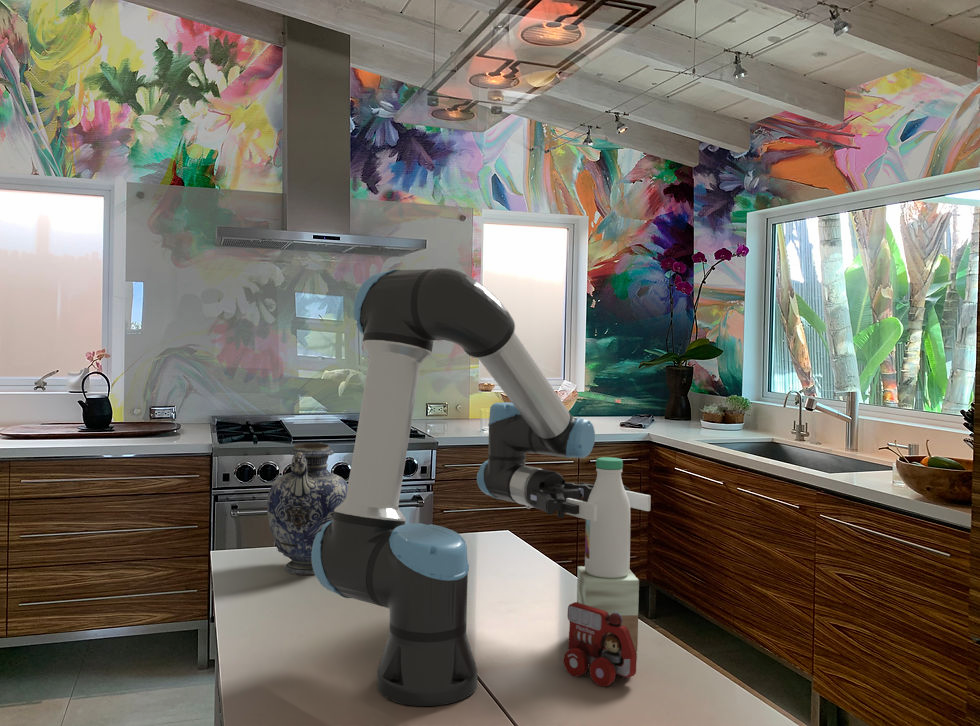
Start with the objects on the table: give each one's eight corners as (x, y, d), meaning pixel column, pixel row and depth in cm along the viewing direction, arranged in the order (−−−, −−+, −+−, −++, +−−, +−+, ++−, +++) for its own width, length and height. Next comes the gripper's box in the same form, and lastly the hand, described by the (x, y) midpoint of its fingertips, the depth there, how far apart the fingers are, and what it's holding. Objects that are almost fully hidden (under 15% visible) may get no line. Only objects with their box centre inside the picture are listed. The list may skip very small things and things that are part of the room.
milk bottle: (638, 573, 142) (640, 459, 142) (612, 582, 137) (615, 463, 136) (601, 564, 148) (604, 454, 147) (575, 572, 142) (578, 458, 142)
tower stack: (637, 650, 139) (638, 580, 138) (584, 650, 138) (586, 580, 138) (625, 632, 147) (627, 566, 147) (576, 632, 147) (577, 566, 146)
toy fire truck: (620, 694, 122) (621, 625, 121) (554, 670, 130) (556, 605, 130) (645, 680, 127) (647, 614, 126) (580, 658, 135) (582, 595, 135)
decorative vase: (281, 554, 195) (284, 437, 194) (358, 557, 194) (361, 440, 193) (251, 581, 173) (254, 450, 172) (338, 585, 173) (341, 453, 172)
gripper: (584, 500, 164) (669, 520, 147) (487, 516, 148) (570, 540, 132) (585, 463, 164) (670, 479, 147) (488, 475, 148) (571, 493, 131)
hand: (623, 508), depth 139 cm, fingers open, 13 cm apart
